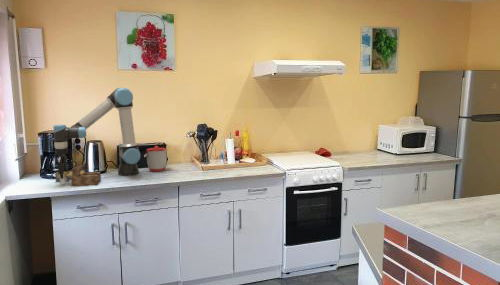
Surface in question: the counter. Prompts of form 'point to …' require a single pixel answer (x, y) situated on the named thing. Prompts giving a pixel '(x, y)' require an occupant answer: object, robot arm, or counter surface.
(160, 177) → the counter surface
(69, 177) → the v block
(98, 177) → the brown wooden l-shaped block
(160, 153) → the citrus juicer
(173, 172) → the counter surface
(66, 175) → the axle
